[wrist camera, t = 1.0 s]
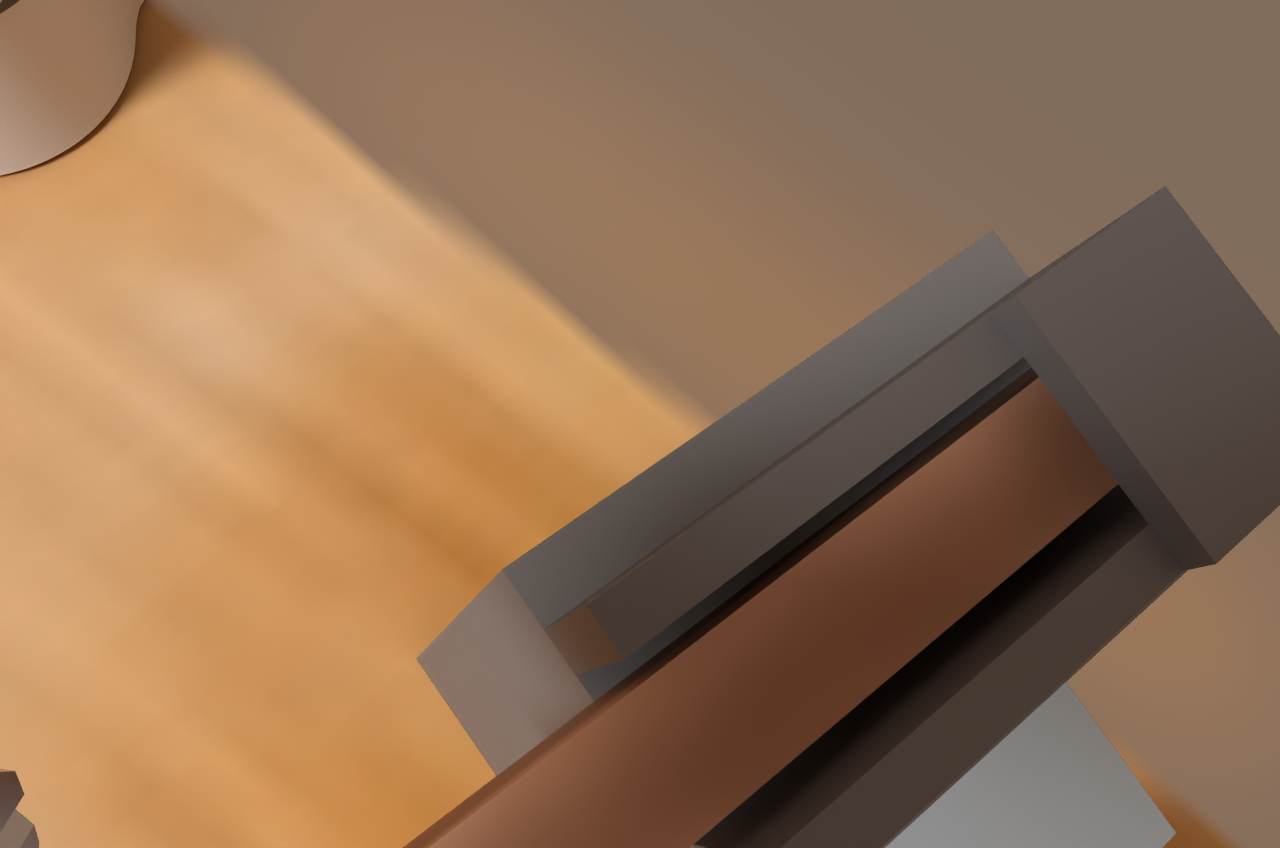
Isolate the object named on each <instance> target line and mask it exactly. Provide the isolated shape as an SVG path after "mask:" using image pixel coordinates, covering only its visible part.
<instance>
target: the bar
mask: <svg viewBox="0 0 1280 848" xmlns="http://www.w3.org/2000/svg"><path fill="white" fill-rule="evenodd" d="M1117 485H1118V483H1117V481H1116V480H1115V479H1114V477H1113V476H1112V475H1111V473H1110V472H1109V471H1108V469H1107V468H1106V467H1105V465H1104V464H1103V463H1102V461H1101V460H1100V459H1099V457H1098V456H1097V454H1096V453H1095V452H1094V450H1093V449H1092V448H1091V446H1090V445H1089V444H1088V442H1087V441H1086V440H1085V438H1084V437H1083V436H1082V434H1081V433H1080V432H1079V430H1078V429H1077V428H1076V426H1075V425H1074V424H1073V422H1072V421H1071V420H1070V418H1069V417H1068V416H1067V414H1066V413H1065V412H1064V410H1063V409H1062V407H1061V406H1060V405H1059V403H1058V402H1057V401H1056V399H1055V398H1054V397H1053V395H1052V394H1051V393H1050V391H1049V390H1048V389H1047V387H1046V386H1045V385H1044V383H1043V382H1042V381H1041V379H1040V378H1039V377H1038V375H1037V374H1036V373H1035V371H1034V370H1033V369H1032V367H1031V368H1030V369H1029V370H1027V371H1026V372H1025V373H1024V374H1022V375H1021V376H1020V377H1018V378H1017V379H1016V380H1014V381H1013V382H1012V383H1010V384H1009V385H1008V386H1006V387H1005V388H1004V389H1003V390H1001V391H1000V392H999V393H997V394H996V395H995V396H993V397H992V398H991V399H989V400H988V401H987V402H986V403H984V404H983V405H982V406H980V407H979V408H978V409H976V410H975V411H974V412H972V413H971V414H970V415H969V416H967V417H966V418H965V419H963V420H962V421H961V422H959V423H958V424H957V425H955V426H954V427H953V428H952V429H950V430H949V431H948V432H946V433H945V434H944V435H942V436H941V437H940V438H938V439H937V440H936V441H935V442H933V443H932V444H931V445H929V446H928V447H927V448H925V449H924V450H923V451H921V452H920V453H919V454H917V455H916V456H915V457H914V458H912V459H911V460H910V461H908V462H907V463H906V464H904V465H903V466H902V467H900V468H899V469H898V470H897V471H895V472H894V473H893V474H891V475H890V476H889V477H887V478H886V479H885V480H883V481H882V482H881V483H880V484H878V485H877V486H876V487H874V488H873V489H872V490H870V491H869V492H868V493H866V494H865V495H864V496H863V497H861V498H860V499H859V500H857V501H856V502H855V503H853V504H852V505H851V506H849V507H848V508H847V509H846V510H844V511H843V512H842V513H840V514H839V515H838V516H836V517H835V518H834V519H832V520H831V521H830V522H828V523H827V524H826V525H825V526H823V527H822V528H821V529H819V530H818V531H817V532H815V533H814V534H813V535H811V536H810V537H809V538H808V539H806V540H805V541H804V542H802V543H801V544H800V545H798V546H797V547H796V548H794V549H793V550H792V551H791V552H789V553H788V554H787V555H785V556H784V557H783V558H781V559H780V560H779V561H777V562H776V563H775V564H774V565H772V566H771V567H770V568H768V569H767V570H766V571H764V572H763V573H762V574H760V575H759V576H758V577H757V578H755V579H754V580H753V581H751V582H750V583H749V584H747V585H746V586H745V587H743V588H742V589H741V590H740V591H738V592H737V593H736V594H734V595H733V596H732V597H730V598H729V599H728V600H726V601H725V602H724V603H722V604H721V605H720V606H719V607H717V608H716V609H715V610H713V611H712V612H711V613H709V614H708V615H707V616H705V617H704V618H703V619H702V620H700V621H699V622H698V623H696V624H695V625H694V626H692V627H691V628H690V629H688V630H687V631H686V632H685V633H683V634H682V635H681V636H679V637H678V638H677V639H675V640H674V641H673V642H671V643H670V644H669V645H668V646H666V647H665V648H664V649H662V650H661V651H660V652H658V653H657V654H656V655H654V656H653V657H652V658H651V659H649V660H648V661H647V662H645V663H644V664H643V665H641V666H640V667H639V668H637V669H636V670H635V671H633V672H632V673H631V674H630V675H628V676H627V677H626V678H624V679H623V680H622V681H620V682H619V683H618V684H616V685H615V686H614V687H613V688H611V689H610V690H609V691H607V692H606V693H605V694H603V695H602V696H601V697H599V698H598V699H597V700H596V701H594V702H593V703H592V704H590V705H589V706H588V707H586V708H585V709H584V710H582V711H581V712H580V713H579V714H577V715H576V716H575V717H573V718H572V719H571V720H569V721H568V722H567V723H565V724H564V725H563V726H562V727H560V728H559V729H558V730H556V731H555V732H554V733H552V734H551V735H550V736H548V737H547V738H546V739H544V740H543V741H542V742H541V743H539V744H538V745H537V746H535V747H534V748H533V749H531V750H530V751H529V752H527V753H526V754H525V755H524V756H522V757H521V758H520V759H518V760H517V761H516V762H514V763H513V764H512V765H510V766H509V767H508V768H507V769H505V770H504V771H503V772H501V773H500V774H499V775H497V776H496V777H495V778H493V779H492V780H491V781H490V782H488V783H487V784H486V785H484V786H483V787H482V788H480V789H479V790H478V791H476V792H475V793H474V794H473V795H471V796H470V797H469V798H467V799H466V800H465V801H463V802H462V803H461V804H459V805H458V806H457V807H455V808H454V809H453V810H452V811H450V812H449V813H448V814H446V815H445V816H444V817H442V818H441V819H440V820H438V821H437V822H436V823H435V824H433V825H432V826H431V827H429V828H428V829H427V830H425V831H424V832H423V833H421V834H420V835H419V836H418V837H416V838H415V839H414V840H412V841H411V842H410V843H408V844H407V845H406V846H404V847H403V848H690V847H691V846H692V845H693V844H694V843H696V842H697V841H698V840H699V839H700V838H702V837H703V836H704V835H705V834H706V833H707V832H709V831H710V830H711V829H712V828H713V827H715V826H716V825H717V824H718V823H719V822H720V821H722V820H723V819H724V818H725V817H726V816H727V815H729V814H730V813H731V812H732V811H733V810H735V809H736V808H737V807H738V806H739V805H740V804H742V803H743V802H744V801H745V800H746V799H748V798H749V797H750V796H751V795H752V794H753V793H755V792H756V791H757V790H758V789H759V788H760V787H762V786H763V785H764V784H765V783H766V782H768V781H769V780H770V779H771V778H772V777H773V776H775V775H776V774H777V773H778V772H779V771H781V770H782V769H783V768H784V767H785V766H786V765H788V764H789V763H790V762H791V761H792V760H794V759H795V758H796V757H797V756H798V755H799V754H801V753H802V752H803V751H804V750H805V749H806V748H808V747H809V746H810V745H811V744H812V743H814V742H815V741H816V740H817V739H818V738H819V737H821V736H822V735H823V734H824V733H825V732H827V731H828V730H829V729H830V728H831V727H832V726H834V725H835V724H836V723H837V722H838V721H839V720H841V719H842V718H843V717H844V716H845V715H847V714H848V713H849V712H850V711H851V710H852V709H854V708H855V707H856V706H857V705H858V704H860V703H861V702H862V701H863V700H864V699H865V698H867V697H868V696H869V695H870V694H871V693H872V692H874V691H875V690H876V689H877V688H878V687H880V686H881V685H882V684H883V683H884V682H885V681H887V680H888V679H889V678H890V677H891V676H893V675H894V674H895V673H896V672H897V671H898V670H900V669H901V668H902V667H903V666H904V665H906V664H907V663H908V662H909V661H910V660H911V659H913V658H914V657H915V656H916V655H917V654H918V653H920V652H921V651H922V650H923V649H924V648H926V647H927V646H928V645H929V644H930V643H931V642H933V641H934V640H935V639H936V638H937V637H939V636H940V635H941V634H942V633H943V632H944V631H946V630H947V629H948V628H949V627H950V626H951V625H953V624H954V623H955V622H956V621H957V620H959V619H960V618H961V617H962V616H963V615H964V614H966V613H967V612H968V611H969V610H970V609H972V608H973V607H974V606H975V605H976V604H977V603H979V602H980V601H981V600H982V599H983V598H984V597H986V596H987V595H988V594H989V593H990V592H992V591H993V590H994V589H995V588H996V587H997V586H999V585H1000V584H1001V583H1002V582H1003V581H1005V580H1006V579H1007V578H1008V577H1009V576H1010V575H1012V574H1013V573H1014V572H1015V571H1016V570H1017V569H1019V568H1020V567H1021V566H1022V565H1023V564H1025V563H1026V562H1027V561H1028V560H1029V559H1030V558H1032V557H1033V556H1034V555H1035V554H1036V553H1038V552H1039V551H1040V550H1041V549H1042V548H1043V547H1045V546H1046V545H1047V544H1048V543H1049V542H1051V541H1052V540H1053V539H1054V538H1055V537H1056V536H1058V535H1059V534H1060V533H1061V532H1062V531H1063V530H1065V529H1066V528H1067V527H1068V526H1069V525H1071V524H1072V523H1073V522H1074V521H1075V520H1076V519H1078V518H1079V517H1080V516H1081V515H1082V514H1084V513H1085V512H1086V511H1087V510H1088V509H1089V508H1091V507H1092V506H1093V505H1094V504H1095V503H1096V502H1098V501H1099V500H1100V499H1101V498H1102V497H1104V496H1105V495H1106V494H1107V493H1108V492H1109V491H1111V490H1112V489H1113V488H1114V487H1115V486H1117Z"/></svg>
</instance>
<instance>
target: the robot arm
mask: <svg viewBox="0 0 1280 848" xmlns="http://www.w3.org/2000/svg"><path fill="white" fill-rule="evenodd" d="M143 2H144V0H0V175H5V174H9V173H13V172H17V171H20V170H24V169H27V168H29V167H32V166H35V165H37V164H40V163H42V162H44V161H47V160H49V159H51V158H53V157H55V156H57V155H59V154H60V153H62V152H64V151H65V150H67V149H69V148H70V147H72V146H73V145H75V144H76V143H77V142H79V141H80V140H81V139H83V138H84V137H85V136H86V135H88V134H89V133H90V132H91V131H92V130H93V129H94V128H95V127H96V126H97V125H98V124H99V123H100V122H101V121H102V120H103V119H104V118H105V117H106V115H107V114H108V113H109V111H110V110H111V109H112V108H113V106H114V104H115V103H116V101H117V100H118V98H119V96H120V95H121V93H122V91H123V89H124V87H125V84H126V82H127V80H128V77H129V74H130V71H131V68H132V63H133V59H134V53H135V41H136V24H137V17H138V12H139V9H140V6H141V5H142V3H143ZM23 795H24V792H23V790H22V787H21V785H20V782H19V780H18V777H17V775H16V772H15V771H11V770H5V769H0V848H39V840H38V837H37V833H36V830H35V826H34V824H32V823H31V822H30V821H29V820H28V819H27V818H25V817H24V816H23V815H22V814H21V813H19V812H18V811H17V810H16V809H15V808H16V807H17V805H18V803H19V802H20V800H21V798H22V797H23Z"/></svg>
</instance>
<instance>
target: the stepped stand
mask: <svg viewBox="0 0 1280 848" xmlns="http://www.w3.org/2000/svg"><path fill="white" fill-rule="evenodd" d="M1031 367H1032V369H1033V370H1034V371H1035V373H1036V374H1037V375H1038V377H1039V378H1040V379H1041V381H1042V382H1043V383H1044V385H1045V386H1046V387H1047V389H1048V390H1049V391H1050V393H1051V394H1052V395H1053V397H1054V398H1055V399H1056V401H1057V402H1058V403H1059V405H1060V406H1061V407H1062V409H1063V410H1064V412H1065V413H1066V414H1067V416H1068V417H1069V418H1070V420H1071V421H1072V422H1073V424H1074V425H1075V426H1076V428H1077V429H1078V430H1079V432H1080V433H1081V434H1082V436H1083V437H1084V438H1085V440H1086V441H1087V442H1088V444H1089V445H1090V446H1091V448H1092V449H1093V450H1094V452H1095V453H1096V454H1097V456H1098V457H1099V459H1100V460H1101V461H1102V463H1103V464H1104V465H1105V467H1106V468H1107V469H1108V471H1109V472H1110V473H1111V475H1112V476H1113V477H1114V479H1115V480H1116V481H1117V483H1118V485H1117V486H1115V487H1114V488H1113V489H1112V490H1111V491H1109V492H1108V493H1107V494H1106V495H1105V496H1104V497H1102V498H1101V499H1100V500H1099V501H1098V502H1096V503H1095V504H1094V505H1093V506H1092V507H1091V508H1089V509H1088V510H1087V511H1086V512H1085V513H1084V514H1082V515H1081V516H1080V517H1079V518H1078V519H1076V520H1075V521H1074V522H1073V523H1072V524H1071V525H1069V526H1068V527H1067V528H1066V529H1065V530H1063V531H1062V532H1061V533H1060V534H1059V535H1058V536H1056V537H1055V538H1054V539H1053V540H1052V541H1051V542H1049V543H1048V544H1047V545H1046V546H1045V547H1043V548H1042V549H1041V550H1040V551H1039V552H1038V553H1036V554H1035V555H1034V556H1033V557H1032V558H1030V559H1029V560H1028V561H1027V562H1026V563H1025V564H1023V565H1022V566H1021V567H1020V568H1019V569H1017V570H1016V571H1015V572H1014V573H1013V574H1012V575H1010V576H1009V577H1008V578H1007V579H1006V580H1005V581H1003V582H1002V583H1001V584H1000V585H999V586H997V587H996V588H995V589H994V590H993V591H992V592H990V593H989V594H988V595H987V596H986V597H984V598H983V599H982V600H981V601H980V602H979V603H977V604H976V605H975V606H974V607H973V608H972V609H970V610H969V611H968V612H967V613H966V614H964V615H963V616H962V617H961V618H960V619H959V620H957V621H956V622H955V623H954V624H953V625H951V626H950V627H949V628H948V629H947V630H946V631H944V632H943V633H942V634H941V635H940V636H939V637H937V638H936V639H935V640H934V641H933V642H931V643H930V644H929V645H928V646H927V647H926V648H924V649H923V650H922V651H921V652H920V653H918V654H917V655H916V656H915V657H914V658H913V659H911V660H910V661H909V662H908V663H907V664H906V665H904V666H903V667H902V668H901V669H900V670H898V671H897V672H896V673H895V674H894V675H893V676H891V677H890V678H889V679H888V680H887V681H885V682H884V683H883V684H882V685H881V686H880V687H878V688H877V689H876V690H875V691H874V692H872V693H871V694H870V695H869V696H868V697H867V698H865V699H864V700H863V701H862V702H861V703H860V704H858V705H857V706H856V707H855V708H854V709H852V710H851V711H850V712H849V713H848V714H847V715H845V716H844V717H843V718H842V719H841V720H839V721H838V722H837V723H836V724H835V725H834V726H832V727H831V728H830V729H829V730H828V731H827V732H825V733H824V734H823V735H822V736H821V737H819V738H818V739H817V740H816V741H815V742H814V743H812V744H811V745H810V746H809V747H808V748H806V749H805V750H804V751H803V752H802V753H801V754H799V755H798V756H797V757H796V758H795V759H794V760H792V761H791V762H790V763H789V764H788V765H786V766H785V767H784V768H783V769H782V770H781V771H779V772H778V773H777V774H776V775H775V776H773V777H772V778H771V779H770V780H769V781H768V782H766V783H765V784H764V785H763V786H762V787H760V788H759V789H758V790H757V791H756V792H755V793H753V794H752V795H751V796H750V797H749V798H748V799H746V800H745V801H744V802H743V803H742V804H740V805H739V806H738V807H737V808H736V809H735V810H733V811H732V812H731V813H730V814H729V815H727V816H726V817H725V818H724V819H723V820H722V821H720V822H719V823H718V824H717V825H716V826H715V827H713V828H712V829H711V830H710V831H709V832H707V833H706V834H705V835H704V836H703V837H702V838H700V839H699V840H698V841H697V842H696V843H694V844H693V845H692V846H691V847H690V848H1163V847H1164V846H1165V845H1166V844H1167V842H1168V841H1169V840H1170V839H1171V838H1172V837H1173V836H1174V835H1175V834H1176V832H1175V830H1174V829H1173V827H1172V826H1171V825H1170V823H1169V822H1168V821H1167V819H1166V818H1165V817H1164V815H1163V814H1162V812H1161V811H1160V810H1159V808H1158V807H1157V806H1156V804H1155V803H1154V801H1153V800H1152V799H1151V797H1150V796H1149V795H1148V793H1147V792H1146V791H1145V789H1144V788H1143V786H1142V785H1141V784H1140V782H1139V781H1138V780H1137V778H1136V777H1135V775H1134V774H1133V773H1132V771H1131V770H1130V769H1129V767H1128V766H1127V764H1126V763H1125V762H1124V760H1123V759H1122V758H1121V756H1120V755H1119V754H1118V752H1117V751H1116V749H1115V748H1114V747H1113V745H1112V744H1111V743H1110V741H1109V740H1108V738H1107V737H1106V736H1105V734H1104V733H1103V732H1102V730H1101V729H1100V728H1099V726H1098V725H1097V723H1096V722H1095V721H1094V719H1093V718H1092V717H1091V715H1090V714H1089V712H1088V711H1087V710H1086V708H1085V707H1084V706H1083V704H1082V703H1081V701H1080V700H1079V699H1078V697H1077V696H1076V695H1075V693H1074V692H1073V691H1072V689H1071V688H1070V686H1069V685H1068V684H1067V682H1066V681H1067V680H1069V678H1071V677H1072V676H1073V675H1074V674H1075V673H1076V672H1077V671H1078V670H1079V669H1081V668H1082V667H1083V666H1084V665H1085V664H1086V663H1087V662H1088V661H1089V660H1090V659H1091V658H1092V657H1093V656H1095V655H1096V654H1097V653H1098V652H1099V651H1100V650H1101V649H1102V648H1103V647H1104V646H1106V645H1107V644H1108V643H1109V642H1110V641H1111V640H1112V639H1113V638H1114V637H1115V636H1117V634H1119V633H1120V632H1121V631H1122V630H1123V629H1124V628H1125V627H1126V626H1127V625H1129V624H1130V623H1131V622H1132V621H1133V620H1134V619H1135V618H1136V617H1137V616H1138V615H1139V614H1140V613H1142V612H1143V611H1144V610H1145V609H1146V608H1147V607H1148V606H1149V605H1150V604H1151V603H1153V602H1154V601H1155V600H1156V599H1157V598H1158V597H1159V596H1160V595H1161V594H1162V593H1163V592H1164V591H1165V590H1167V589H1168V588H1169V587H1170V586H1171V585H1172V584H1173V583H1174V582H1175V581H1177V579H1179V578H1180V577H1181V576H1182V575H1183V574H1184V573H1185V572H1186V571H1187V570H1189V569H1194V568H1198V567H1203V566H1208V565H1212V564H1216V563H1217V562H1218V561H1220V560H1221V559H1222V558H1223V557H1224V556H1225V555H1226V554H1227V553H1228V552H1229V551H1230V550H1231V549H1233V548H1234V547H1235V546H1236V545H1237V544H1238V543H1239V542H1240V541H1241V540H1242V539H1243V538H1244V537H1245V536H1247V535H1248V534H1249V533H1250V532H1251V531H1252V530H1253V529H1254V528H1255V527H1256V526H1257V525H1258V524H1260V523H1261V522H1262V521H1263V520H1264V519H1265V518H1266V517H1267V516H1268V515H1269V514H1270V513H1271V512H1272V511H1274V510H1275V509H1276V508H1277V507H1278V506H1279V505H1280V336H1279V334H1278V333H1277V332H1276V331H1275V329H1274V328H1273V326H1272V325H1271V324H1270V323H1269V321H1268V320H1267V319H1266V317H1265V316H1264V315H1263V313H1262V312H1261V311H1260V310H1259V308H1258V307H1257V306H1256V304H1255V303H1254V302H1253V300H1252V299H1251V298H1250V296H1249V295H1248V294H1247V292H1246V291H1245V290H1244V289H1243V287H1242V286H1241V285H1240V283H1239V282H1238V281H1237V279H1236V278H1235V277H1234V275H1233V274H1232V273H1231V272H1230V270H1229V269H1228V268H1227V266H1226V265H1225V264H1224V262H1223V261H1222V260H1221V258H1220V257H1219V256H1218V255H1217V253H1216V252H1215V251H1214V249H1213V248H1212V247H1211V246H1210V244H1209V243H1208V241H1207V240H1206V239H1205V238H1204V236H1203V235H1202V234H1201V232H1200V231H1199V230H1198V229H1197V227H1196V226H1195V225H1194V223H1193V222H1192V221H1191V219H1190V218H1189V217H1188V215H1187V214H1186V213H1185V211H1184V210H1183V209H1182V207H1181V206H1180V205H1179V204H1178V202H1177V201H1176V200H1175V198H1174V197H1173V196H1172V194H1171V193H1170V192H1169V190H1168V189H1167V188H1166V187H1164V188H1162V189H1161V190H1159V191H1158V192H1156V193H1155V194H1153V195H1152V196H1150V197H1149V198H1148V199H1146V200H1144V201H1143V202H1141V203H1140V204H1139V205H1137V206H1135V207H1134V208H1133V209H1131V210H1130V211H1128V212H1127V213H1125V214H1124V215H1122V216H1121V217H1119V218H1118V219H1116V220H1115V221H1113V222H1112V223H1111V224H1109V225H1107V226H1106V227H1104V228H1103V229H1101V230H1100V231H1099V232H1097V233H1096V234H1094V235H1093V236H1091V237H1090V238H1088V239H1087V240H1086V241H1084V242H1082V243H1081V244H1080V245H1078V246H1076V247H1075V248H1073V249H1072V250H1070V251H1069V252H1067V253H1066V254H1064V255H1063V256H1062V257H1060V258H1059V259H1057V260H1056V261H1054V262H1053V263H1051V264H1050V265H1048V266H1047V267H1045V268H1044V269H1042V270H1041V271H1040V272H1038V273H1036V274H1035V275H1033V276H1032V277H1030V278H1028V276H1027V275H1026V274H1025V272H1024V271H1023V270H1022V268H1021V267H1020V266H1019V264H1018V263H1017V262H1016V260H1015V259H1014V258H1013V256H1012V255H1011V254H1010V252H1009V251H1008V250H1007V248H1006V247H1005V246H1004V244H1003V243H1002V242H1001V241H1000V239H999V238H998V236H997V235H996V234H995V232H994V231H991V232H990V233H988V234H987V235H985V236H984V237H982V238H981V239H979V240H978V241H977V242H975V243H974V244H972V245H971V246H969V247H968V248H966V249H965V250H964V251H962V252H961V253H959V254H958V255H956V256H955V257H953V258H952V259H951V260H949V261H948V262H946V263H945V264H943V265H942V266H941V267H939V268H938V269H936V270H935V271H933V272H932V273H930V274H929V275H927V276H926V277H924V278H923V279H922V280H920V281H919V282H917V283H916V284H914V285H913V286H911V287H910V288H909V289H907V290H906V291H904V292H903V293H901V294H900V295H899V296H897V297H896V298H894V299H893V300H891V301H890V302H888V303H887V304H885V305H884V306H883V307H881V308H880V309H878V310H877V311H875V312H874V313H872V314H871V315H870V316H868V317H867V318H865V319H864V320H862V321H861V322H859V323H858V324H857V325H855V326H854V327H852V328H851V329H849V330H848V331H846V332H845V333H844V334H842V335H841V336H839V337H838V338H836V339H835V340H833V341H832V342H831V343H829V344H828V345H826V346H825V347H823V348H822V349H821V350H819V351H817V352H816V353H815V354H813V355H812V356H810V357H809V358H807V359H806V360H805V361H803V362H802V363H800V364H799V365H797V366H796V367H794V368H793V369H791V370H790V371H789V372H787V373H786V374H784V375H783V376H781V377H780V378H778V379H777V380H776V381H774V382H773V383H771V384H770V385H768V386H767V387H766V388H764V389H763V390H761V391H760V392H758V393H757V394H756V395H754V396H752V397H751V398H750V399H748V400H747V401H745V402H744V403H742V404H741V405H739V406H738V407H737V408H735V409H734V410H732V411H731V412H729V413H728V414H726V415H725V416H724V417H722V418H721V419H719V420H718V421H716V422H715V423H713V424H712V425H710V426H709V427H708V428H706V429H705V430H703V431H702V432H700V433H699V434H697V435H696V436H695V437H693V438H692V439H690V440H689V441H687V442H686V443H684V444H683V445H682V446H680V447H679V448H677V449H676V450H674V451H673V452H671V453H670V454H669V455H667V456H666V457H664V458H663V459H661V460H660V461H658V462H657V463H656V464H654V465H653V466H651V467H650V468H648V469H647V470H645V471H644V472H643V473H641V474H640V475H638V476H637V477H635V478H634V479H632V480H631V481H630V482H628V483H627V484H625V485H624V486H622V487H621V488H619V489H618V490H616V491H615V492H614V493H612V494H611V495H609V496H608V497H606V498H605V499H603V500H602V501H601V502H599V503H598V504H596V505H595V506H593V507H592V508H590V509H589V510H588V511H586V512H585V513H583V514H582V515H580V516H579V517H577V518H576V519H575V520H573V521H572V522H570V523H569V524H567V525H566V526H564V527H563V528H562V529H560V530H559V531H557V532H556V533H554V534H553V535H551V536H550V537H549V538H547V539H546V540H544V541H543V542H541V543H540V544H538V545H537V546H536V547H534V548H533V549H531V550H530V551H528V552H527V553H525V554H524V555H522V556H521V557H520V558H518V559H517V560H515V561H514V562H512V563H511V564H509V565H508V566H507V567H505V568H504V569H502V570H501V571H500V572H499V573H498V574H497V575H496V576H495V578H494V579H493V580H492V581H491V582H490V583H489V584H488V585H487V586H486V587H485V588H484V589H483V590H482V591H481V592H480V593H479V594H478V595H477V596H476V597H475V598H474V599H473V600H472V601H471V603H470V604H469V605H468V606H467V607H466V608H465V609H464V610H463V611H462V612H461V613H460V614H459V615H458V616H457V617H456V618H455V619H454V620H453V621H452V622H451V623H450V624H449V625H448V626H447V628H446V629H445V630H444V631H443V632H442V633H441V634H440V635H439V636H438V637H437V638H436V639H435V640H434V641H433V642H432V643H431V644H430V645H429V646H428V647H427V648H426V649H425V650H424V652H423V653H422V654H421V655H420V656H419V657H418V658H417V660H418V662H419V663H420V664H421V666H422V667H423V669H424V670H425V672H426V673H427V675H428V676H429V678H430V679H431V681H432V682H433V683H434V685H435V686H436V688H437V689H438V691H439V692H440V694H441V695H442V697H443V698H444V700H445V701H446V702H447V704H448V705H449V707H450V708H451V710H452V711H453V713H454V714H455V716H456V717H457V719H458V720H459V721H460V723H461V724H462V726H463V727H464V729H465V730H466V732H467V733H468V735H469V736H470V738H471V739H472V740H473V742H474V743H475V745H476V746H477V748H478V749H479V751H480V752H481V754H482V755H483V757H484V758H485V759H486V761H487V762H488V764H489V765H490V767H491V768H492V770H493V771H494V773H495V774H496V776H497V775H499V774H500V773H501V772H503V771H504V770H505V769H507V768H508V767H509V766H510V765H512V764H513V763H514V762H516V761H517V760H518V759H520V758H521V757H522V756H524V755H525V754H526V753H527V752H529V751H530V750H531V749H533V748H534V747H535V746H537V745H538V744H539V743H541V742H542V741H543V740H544V739H546V738H547V737H548V736H550V735H551V734H552V733H554V732H555V731H556V730H558V729H559V728H560V727H562V726H563V725H564V724H565V723H567V722H568V721H569V720H571V719H572V718H573V717H575V716H576V715H577V714H579V713H580V712H581V711H582V710H584V709H585V708H586V707H588V706H589V705H590V704H592V703H593V702H594V701H596V700H597V699H598V698H599V697H601V696H602V695H603V694H605V693H606V692H607V691H609V690H610V689H611V688H613V687H614V686H615V685H616V684H618V683H619V682H620V681H622V680H623V679H624V678H626V677H627V676H628V675H630V674H631V673H632V672H633V671H635V670H636V669H637V668H639V667H640V666H641V665H643V664H644V663H645V662H647V661H648V660H649V659H651V658H652V657H653V656H654V655H656V654H657V653H658V652H660V651H661V650H662V649H664V648H665V647H666V646H668V645H669V644H670V643H671V642H673V641H674V640H675V639H677V638H678V637H679V636H681V635H682V634H683V633H685V632H686V631H687V630H688V629H690V628H691V627H692V626H694V625H695V624H696V623H698V622H699V621H700V620H702V619H703V618H704V617H705V616H707V615H708V614H709V613H711V612H712V611H713V610H715V609H716V608H717V607H719V606H720V605H721V604H722V603H724V602H725V601H726V600H728V599H729V598H730V597H732V596H733V595H734V594H736V593H737V592H738V591H740V590H741V589H742V588H743V587H745V586H746V585H747V584H749V583H750V582H751V581H753V580H754V579H755V578H757V577H758V576H759V575H760V574H762V573H763V572H764V571H766V570H767V569H768V568H770V567H771V566H772V565H774V564H775V563H776V562H777V561H779V560H780V559H781V558H783V557H784V556H785V555H787V554H788V553H789V552H791V551H792V550H793V549H794V548H796V547H797V546H798V545H800V544H801V543H802V542H804V541H805V540H806V539H808V538H809V537H810V536H811V535H813V534H814V533H815V532H817V531H818V530H819V529H821V528H822V527H823V526H825V525H826V524H827V523H828V522H830V521H831V520H832V519H834V518H835V517H836V516H838V515H839V514H840V513H842V512H843V511H844V510H846V509H847V508H848V507H849V506H851V505H852V504H853V503H855V502H856V501H857V500H859V499H860V498H861V497H863V496H864V495H865V494H866V493H868V492H869V491H870V490H872V489H873V488H874V487H876V486H877V485H878V484H880V483H881V482H882V481H883V480H885V479H886V478H887V477H889V476H890V475H891V474H893V473H894V472H895V471H897V470H898V469H899V468H900V467H902V466H903V465H904V464H906V463H907V462H908V461H910V460H911V459H912V458H914V457H915V456H916V455H917V454H919V453H920V452H921V451H923V450H924V449H925V448H927V447H928V446H929V445H931V444H932V443H933V442H935V441H936V440H937V439H938V438H940V437H941V436H942V435H944V434H945V433H946V432H948V431H949V430H950V429H952V428H953V427H954V426H955V425H957V424H958V423H959V422H961V421H962V420H963V419H965V418H966V417H967V416H969V415H970V414H971V413H972V412H974V411H975V410H976V409H978V408H979V407H980V406H982V405H983V404H984V403H986V402H987V401H988V400H989V399H991V398H992V397H993V396H995V395H996V394H997V393H999V392H1000V391H1001V390H1003V389H1004V388H1005V387H1006V386H1008V385H1009V384H1010V383H1012V382H1013V381H1014V380H1016V379H1017V378H1018V377H1020V376H1021V375H1022V374H1024V373H1025V372H1026V371H1027V370H1029V369H1030V368H1031Z"/></svg>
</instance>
